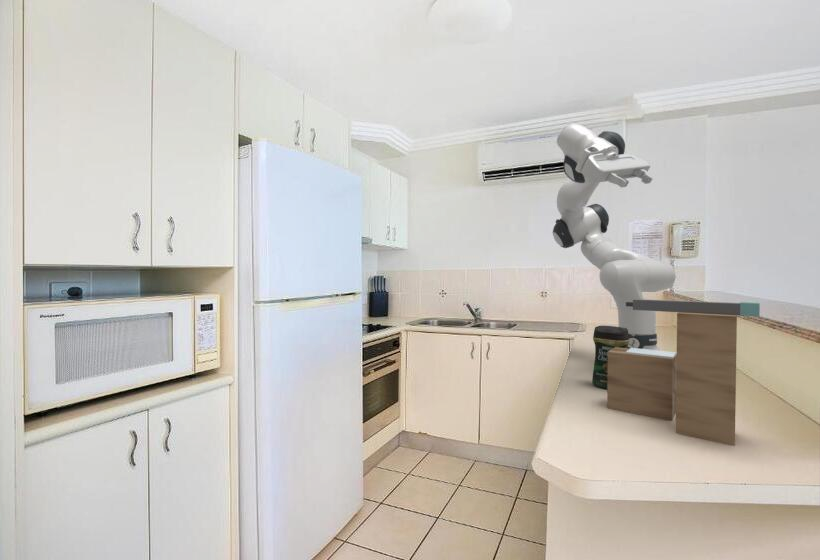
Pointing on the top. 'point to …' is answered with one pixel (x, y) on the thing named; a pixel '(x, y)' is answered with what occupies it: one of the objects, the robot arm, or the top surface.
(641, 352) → the notepad
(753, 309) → the marker
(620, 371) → the walnut stand
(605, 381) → the coffee jar
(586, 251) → the robot arm
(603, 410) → the top surface
